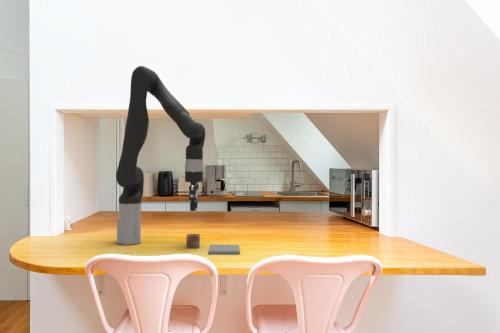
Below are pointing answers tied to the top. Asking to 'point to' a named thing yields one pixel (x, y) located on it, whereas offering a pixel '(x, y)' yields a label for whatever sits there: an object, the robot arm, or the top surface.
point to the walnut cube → (193, 241)
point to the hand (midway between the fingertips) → (193, 209)
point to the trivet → (224, 249)
